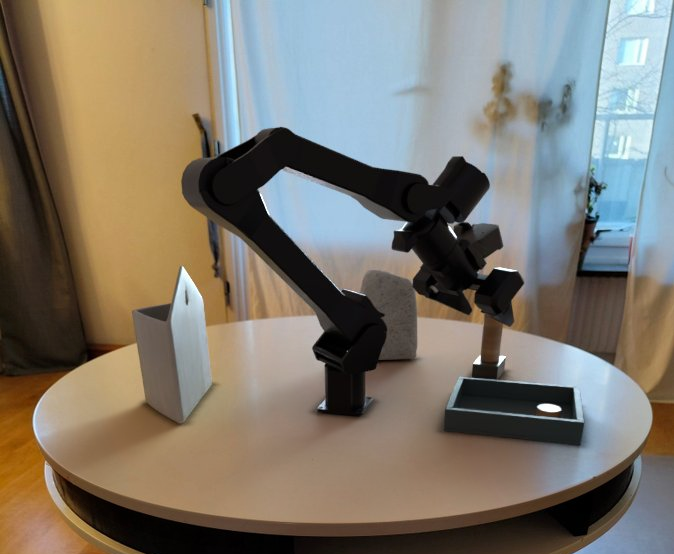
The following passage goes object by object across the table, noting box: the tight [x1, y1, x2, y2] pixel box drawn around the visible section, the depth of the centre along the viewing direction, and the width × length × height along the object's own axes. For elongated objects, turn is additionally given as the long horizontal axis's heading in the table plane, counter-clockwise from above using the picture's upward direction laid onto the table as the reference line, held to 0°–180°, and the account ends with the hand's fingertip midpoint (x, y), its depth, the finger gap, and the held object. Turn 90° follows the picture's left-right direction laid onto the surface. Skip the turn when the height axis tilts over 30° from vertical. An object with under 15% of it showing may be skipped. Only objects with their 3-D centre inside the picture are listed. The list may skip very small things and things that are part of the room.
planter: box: [131, 265, 213, 425], centre depth 86 cm, size 16×8×19 cm, turn 177°
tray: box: [443, 376, 585, 446], centre depth 82 cm, size 14×17×3 cm
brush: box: [471, 314, 507, 380], centre depth 96 cm, size 6×4×14 cm, turn 155°
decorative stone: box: [359, 269, 418, 361], centre depth 106 cm, size 11×6×15 cm, turn 84°
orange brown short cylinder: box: [536, 404, 561, 418], centre depth 79 cm, size 3×3×2 cm
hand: (490, 318), depth 95 cm, fingers open, 9 cm apart
